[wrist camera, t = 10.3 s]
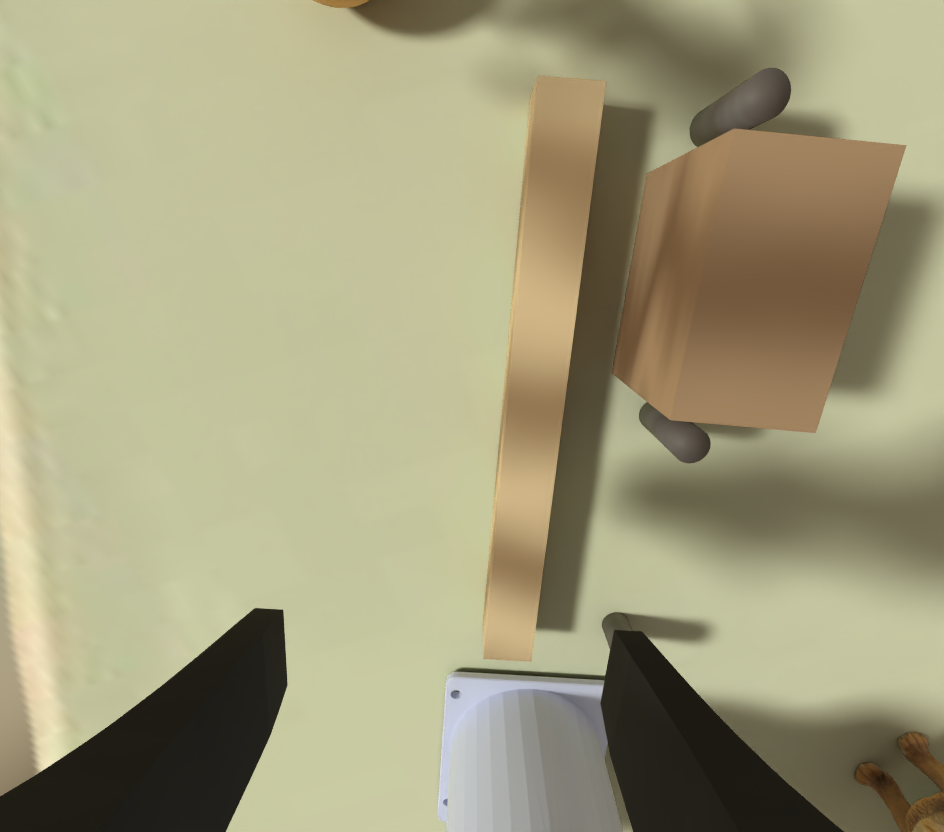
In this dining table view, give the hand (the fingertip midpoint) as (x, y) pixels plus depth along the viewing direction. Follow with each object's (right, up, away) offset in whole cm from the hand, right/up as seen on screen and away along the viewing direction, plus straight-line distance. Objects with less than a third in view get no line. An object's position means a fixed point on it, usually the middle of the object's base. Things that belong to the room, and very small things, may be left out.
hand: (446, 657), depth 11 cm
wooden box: (+8, +10, +7) cm, 15 cm away
